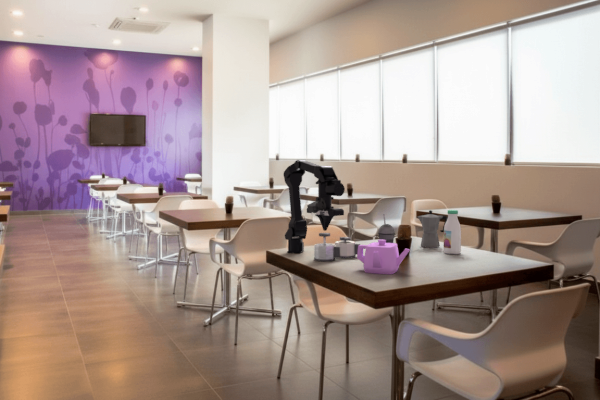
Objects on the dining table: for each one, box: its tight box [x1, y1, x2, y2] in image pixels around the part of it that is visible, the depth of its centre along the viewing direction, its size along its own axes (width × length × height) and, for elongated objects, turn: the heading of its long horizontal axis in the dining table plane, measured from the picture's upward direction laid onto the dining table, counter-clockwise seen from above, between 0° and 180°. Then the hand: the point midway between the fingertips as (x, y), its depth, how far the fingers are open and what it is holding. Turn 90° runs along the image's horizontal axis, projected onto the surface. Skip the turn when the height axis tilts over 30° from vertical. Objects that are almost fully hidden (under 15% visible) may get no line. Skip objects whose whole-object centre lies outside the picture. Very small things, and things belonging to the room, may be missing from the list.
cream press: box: [334, 240, 361, 259], centre depth 257 cm, size 12×9×6 cm
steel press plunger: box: [318, 232, 331, 245], centre depth 250 cm, size 5×5×6 cm
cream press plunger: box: [339, 236, 352, 243], centre depth 258 cm, size 5×5×6 cm
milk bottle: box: [443, 209, 462, 255], centre depth 264 cm, size 8×8×20 cm
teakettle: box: [356, 239, 411, 275], centre depth 226 cm, size 17×17×12 cm
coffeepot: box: [416, 210, 448, 249], centre depth 283 cm, size 15×9×18 cm, turn 70°
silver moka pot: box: [313, 242, 341, 262], centre depth 250 cm, size 12×9×6 cm
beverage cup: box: [377, 213, 396, 243], centre depth 249 cm, size 7×7×20 cm
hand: (324, 230), depth 250 cm, fingers closed
